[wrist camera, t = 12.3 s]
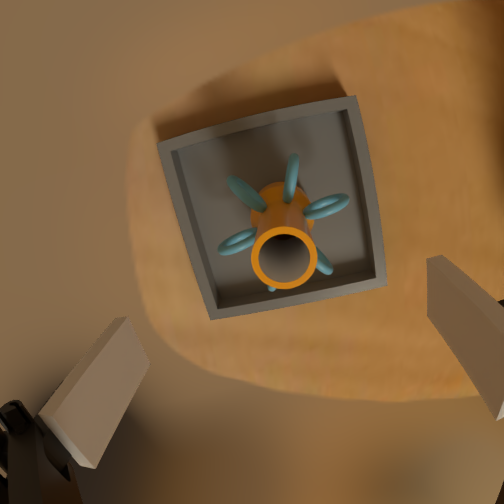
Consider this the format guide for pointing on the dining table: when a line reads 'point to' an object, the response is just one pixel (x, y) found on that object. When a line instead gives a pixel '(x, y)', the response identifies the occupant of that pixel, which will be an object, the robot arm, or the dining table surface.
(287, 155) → the tray
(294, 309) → the dining table surface
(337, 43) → the dining table surface
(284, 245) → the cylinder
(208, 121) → the dining table surface
